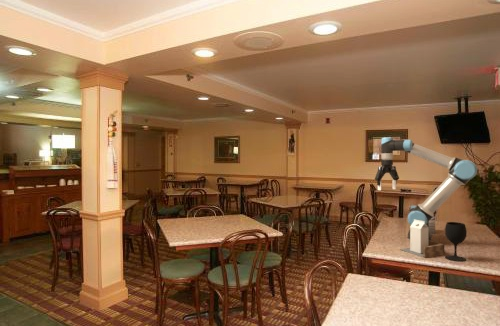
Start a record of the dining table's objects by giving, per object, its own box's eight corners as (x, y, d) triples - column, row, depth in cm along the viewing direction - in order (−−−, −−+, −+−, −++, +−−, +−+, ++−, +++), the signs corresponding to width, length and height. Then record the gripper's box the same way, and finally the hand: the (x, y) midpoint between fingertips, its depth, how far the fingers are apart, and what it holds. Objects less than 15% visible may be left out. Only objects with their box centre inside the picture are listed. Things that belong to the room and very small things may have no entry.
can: (436, 234, 240) (436, 218, 239) (419, 233, 244) (419, 217, 243) (434, 231, 250) (434, 216, 250) (417, 230, 254) (417, 215, 254)
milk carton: (417, 249, 203) (417, 218, 202) (428, 252, 196) (428, 220, 196) (410, 250, 200) (410, 219, 199) (420, 253, 193) (420, 221, 193)
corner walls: (417, 246, 210) (417, 237, 210) (444, 254, 193) (444, 244, 193) (398, 249, 204) (398, 239, 203) (425, 257, 186) (425, 247, 186)
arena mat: (417, 247, 209) (417, 246, 209) (440, 253, 194) (440, 253, 194) (400, 249, 203) (400, 249, 203) (423, 257, 188) (423, 256, 188)
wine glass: (466, 262, 177) (466, 226, 177) (444, 259, 183) (444, 224, 183) (466, 257, 186) (466, 222, 186) (445, 254, 192) (445, 221, 191)
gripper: (396, 159, 236) (396, 188, 236) (369, 159, 226) (369, 190, 227) (404, 159, 229) (404, 189, 230) (377, 159, 219) (377, 191, 220)
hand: (387, 189), depth 228 cm, fingers open, 13 cm apart
